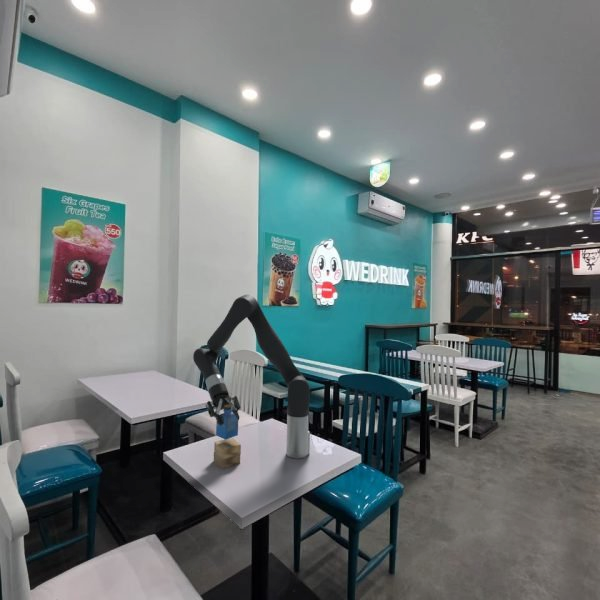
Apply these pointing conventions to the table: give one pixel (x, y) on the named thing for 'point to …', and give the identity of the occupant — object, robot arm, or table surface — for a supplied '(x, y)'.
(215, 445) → the tower top block
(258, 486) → the table surface
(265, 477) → the table surface
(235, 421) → the perfume bottle
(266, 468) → the table surface
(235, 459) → the tower bottom block
